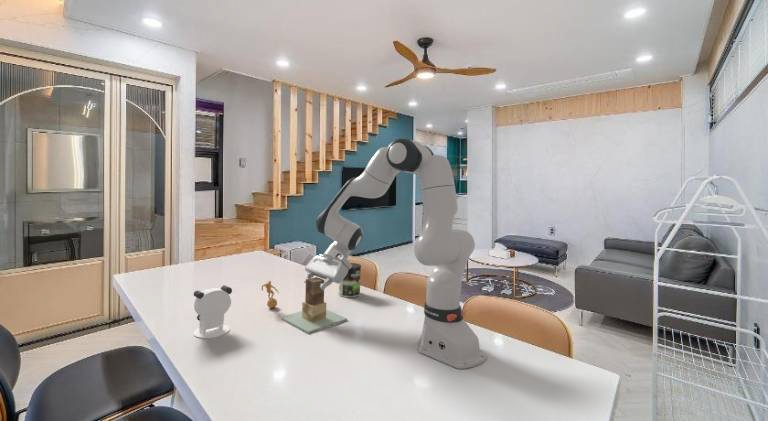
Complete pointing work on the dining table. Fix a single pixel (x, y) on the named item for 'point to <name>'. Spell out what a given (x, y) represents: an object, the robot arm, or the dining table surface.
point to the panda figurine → (212, 311)
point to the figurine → (271, 301)
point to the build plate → (311, 327)
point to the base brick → (313, 311)
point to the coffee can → (351, 282)
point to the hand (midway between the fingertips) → (313, 286)
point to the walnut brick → (314, 291)
